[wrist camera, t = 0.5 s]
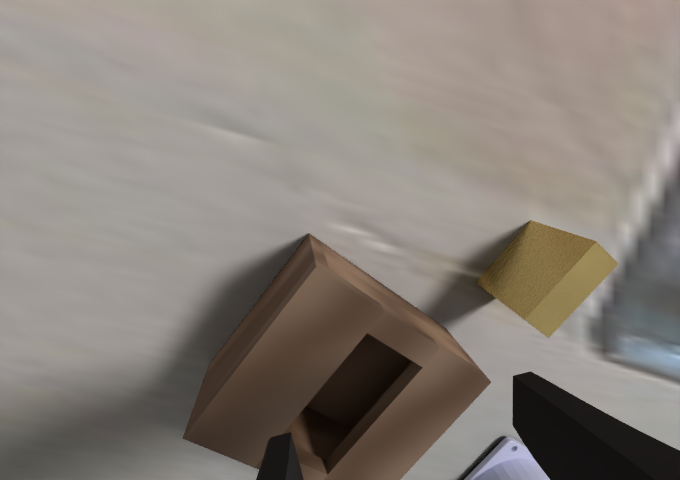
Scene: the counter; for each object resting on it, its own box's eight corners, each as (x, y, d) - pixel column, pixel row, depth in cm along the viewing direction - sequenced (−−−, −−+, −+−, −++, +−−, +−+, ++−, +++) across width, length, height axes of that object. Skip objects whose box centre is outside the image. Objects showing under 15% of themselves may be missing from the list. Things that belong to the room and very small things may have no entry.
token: (549, 238, 20) (618, 263, 16) (495, 298, 21) (548, 337, 17) (530, 220, 20) (596, 241, 15) (475, 282, 20) (524, 319, 16)
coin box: (445, 328, 21) (491, 382, 16) (351, 435, 22) (367, 513, 18) (309, 233, 18) (316, 266, 13) (208, 365, 19) (182, 438, 14)
